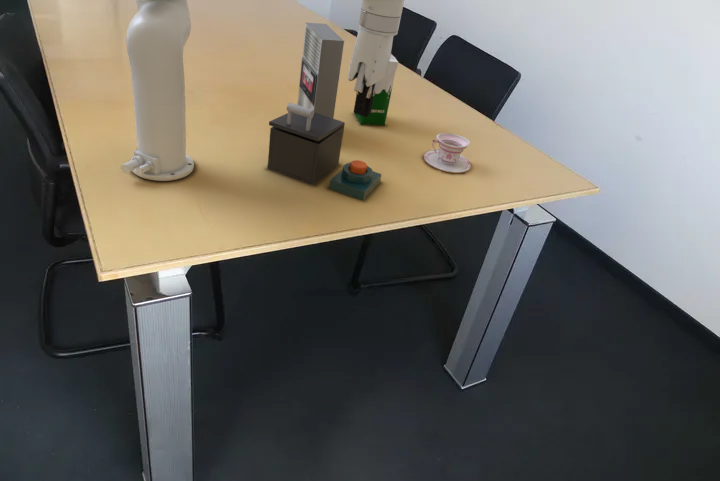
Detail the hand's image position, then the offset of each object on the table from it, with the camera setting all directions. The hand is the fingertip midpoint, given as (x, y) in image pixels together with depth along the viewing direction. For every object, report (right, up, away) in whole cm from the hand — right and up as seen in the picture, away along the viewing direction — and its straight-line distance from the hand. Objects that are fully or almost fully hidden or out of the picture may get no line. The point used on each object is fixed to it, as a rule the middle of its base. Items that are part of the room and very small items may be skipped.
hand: (361, 114), depth 115 cm
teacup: (+22, -6, +27) cm, 35 cm away
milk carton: (+2, +8, +42) cm, 43 cm away
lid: (-12, -1, +7) cm, 13 cm away
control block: (-1, -14, +9) cm, 17 cm away
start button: (-1, -11, +7) cm, 13 cm away
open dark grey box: (-13, -9, +13) cm, 20 cm away
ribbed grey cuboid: (-13, +2, +30) cm, 33 cm away
